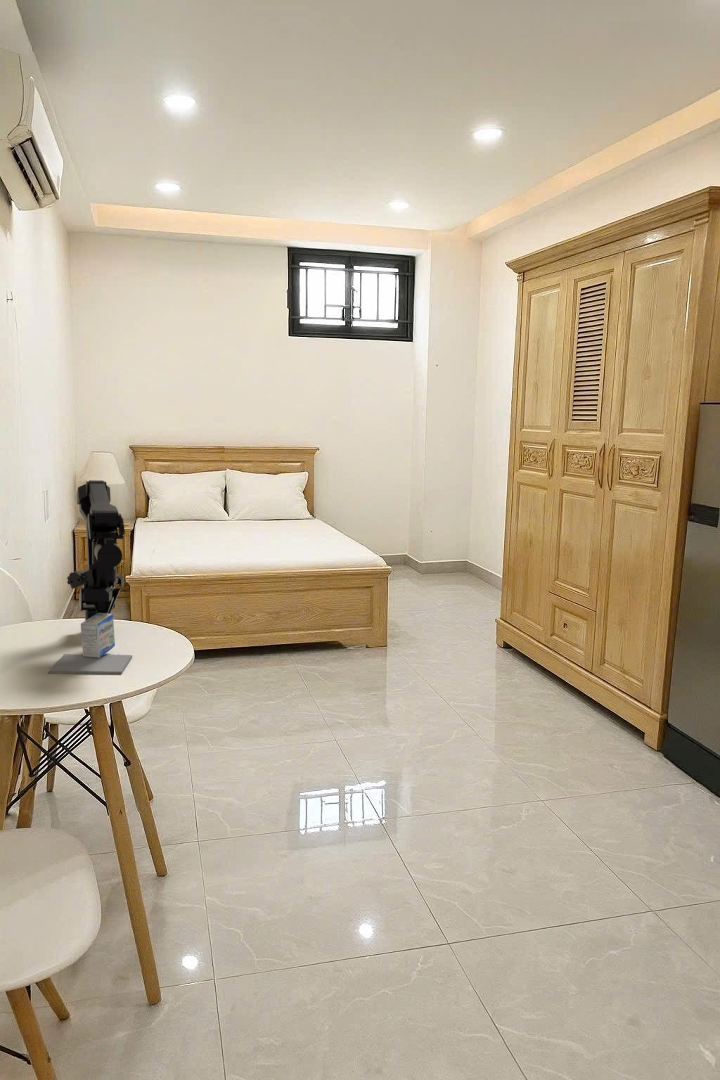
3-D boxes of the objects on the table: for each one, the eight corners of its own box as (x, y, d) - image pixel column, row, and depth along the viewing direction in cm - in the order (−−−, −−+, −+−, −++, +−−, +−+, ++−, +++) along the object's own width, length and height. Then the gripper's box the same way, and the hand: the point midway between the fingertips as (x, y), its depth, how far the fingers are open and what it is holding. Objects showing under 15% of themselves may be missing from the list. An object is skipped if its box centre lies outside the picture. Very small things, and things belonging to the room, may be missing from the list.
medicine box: (99, 658, 186) (97, 624, 184) (82, 657, 186) (80, 622, 184) (115, 646, 193) (113, 613, 191) (98, 644, 194) (96, 611, 192)
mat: (64, 656, 188) (64, 654, 188) (132, 657, 190) (132, 655, 190) (48, 673, 175) (48, 670, 175) (121, 674, 177) (121, 671, 177)
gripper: (80, 550, 202) (80, 609, 205) (60, 566, 184) (60, 630, 186) (124, 552, 203) (124, 611, 206) (108, 567, 185) (108, 631, 187)
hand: (104, 620), depth 196 cm, fingers open, 4 cm apart
